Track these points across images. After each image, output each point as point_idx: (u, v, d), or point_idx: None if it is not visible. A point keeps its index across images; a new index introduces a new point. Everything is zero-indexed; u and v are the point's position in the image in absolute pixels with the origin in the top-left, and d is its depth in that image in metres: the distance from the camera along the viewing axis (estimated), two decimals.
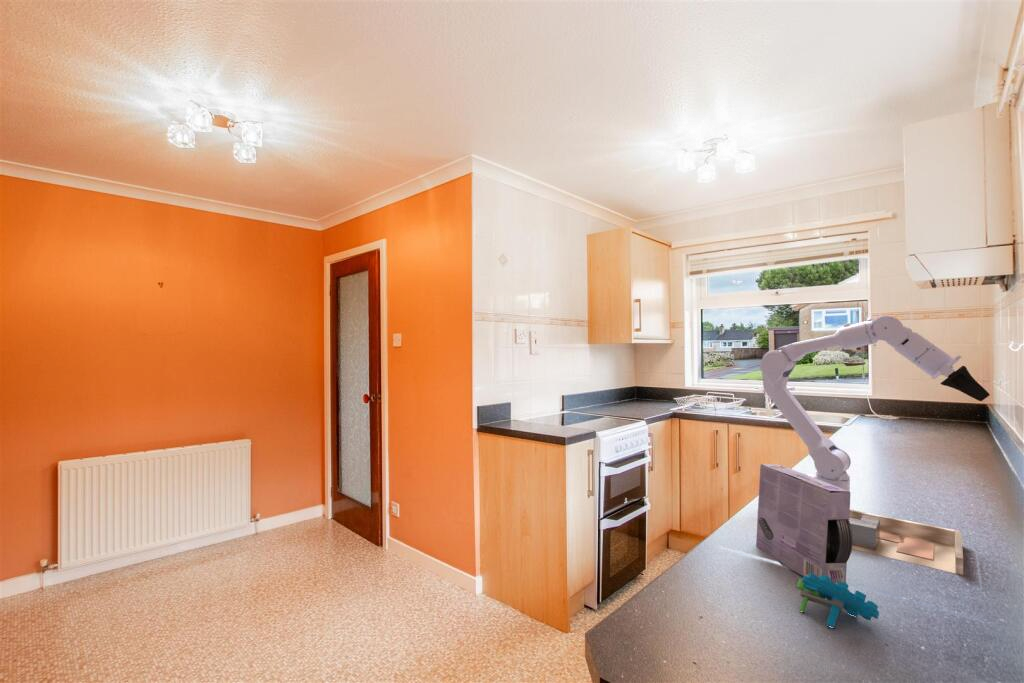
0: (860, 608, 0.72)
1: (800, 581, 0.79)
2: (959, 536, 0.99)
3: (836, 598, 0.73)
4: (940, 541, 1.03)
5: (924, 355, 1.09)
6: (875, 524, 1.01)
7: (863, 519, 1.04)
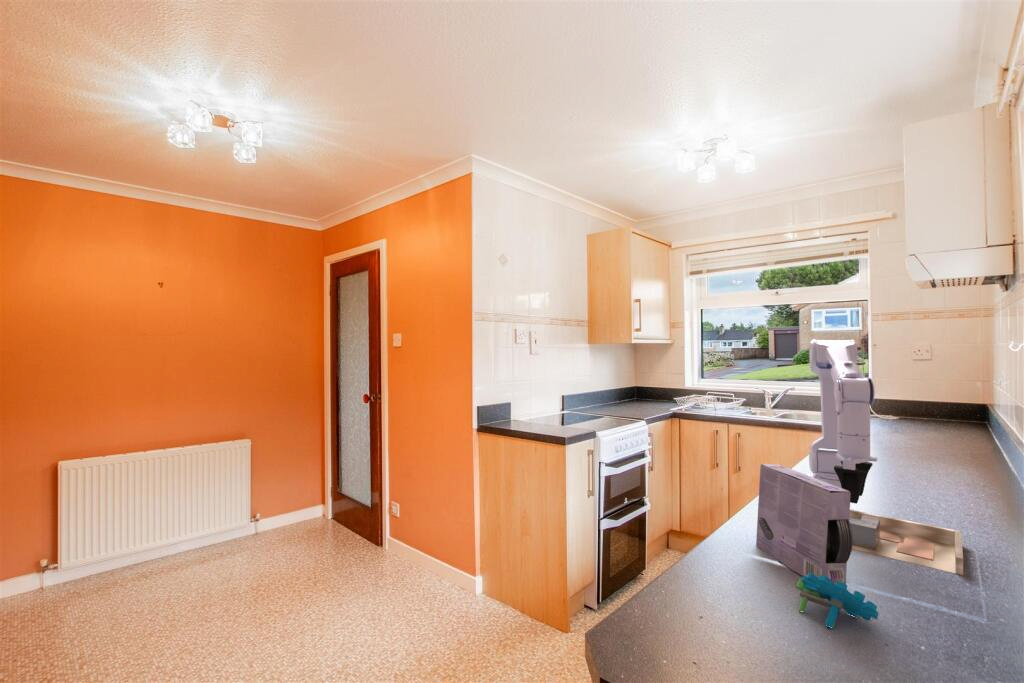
0: (859, 608, 0.72)
1: (800, 581, 0.79)
2: (959, 536, 0.99)
3: (835, 598, 0.73)
4: (940, 541, 1.03)
5: (851, 437, 1.01)
6: (875, 524, 1.01)
7: (863, 519, 1.04)
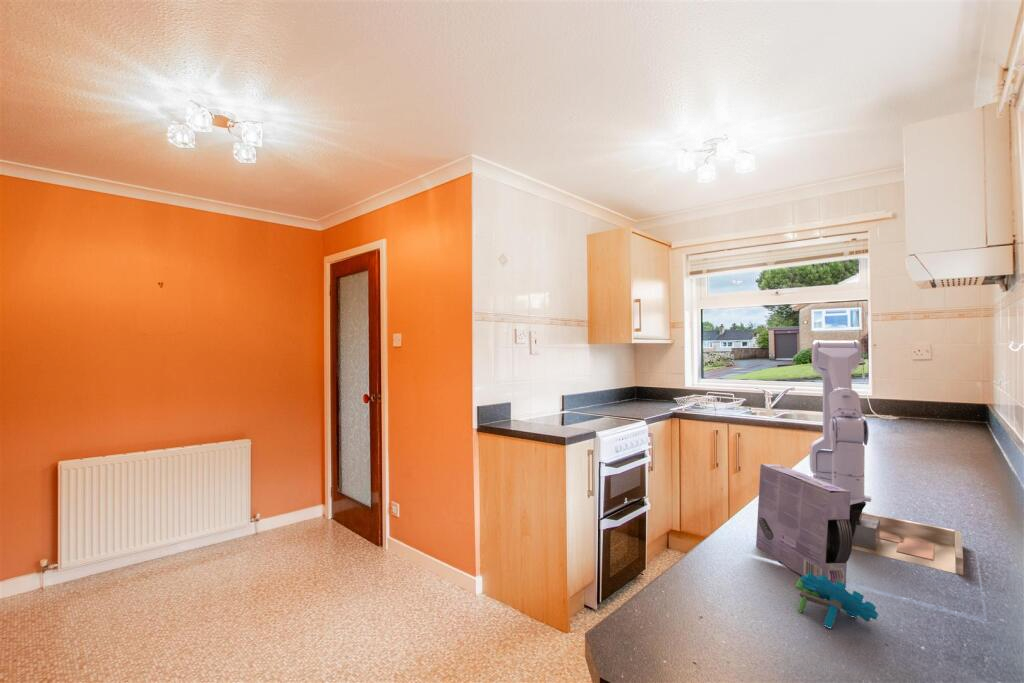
0: (858, 609, 0.72)
1: (799, 581, 0.79)
2: (959, 536, 0.99)
3: (834, 598, 0.73)
4: (940, 541, 1.03)
5: (845, 477, 1.01)
6: (875, 524, 1.01)
7: (863, 519, 1.04)
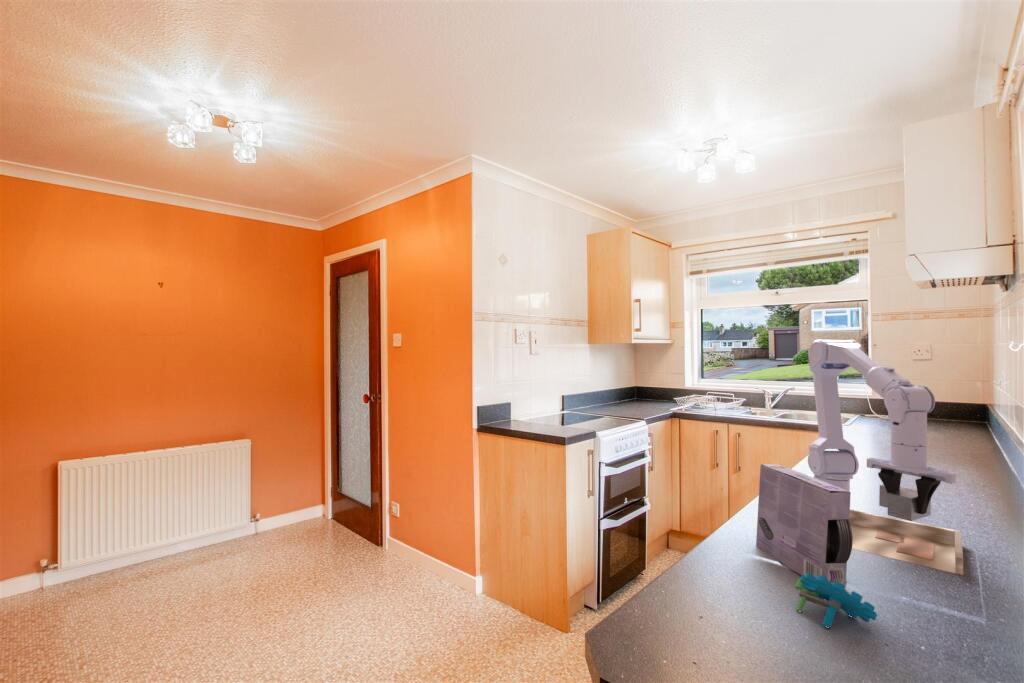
0: (857, 609, 0.72)
1: (799, 581, 0.79)
2: (959, 536, 0.99)
3: (833, 598, 0.73)
4: (940, 541, 1.03)
5: (925, 448, 0.98)
6: None
7: None
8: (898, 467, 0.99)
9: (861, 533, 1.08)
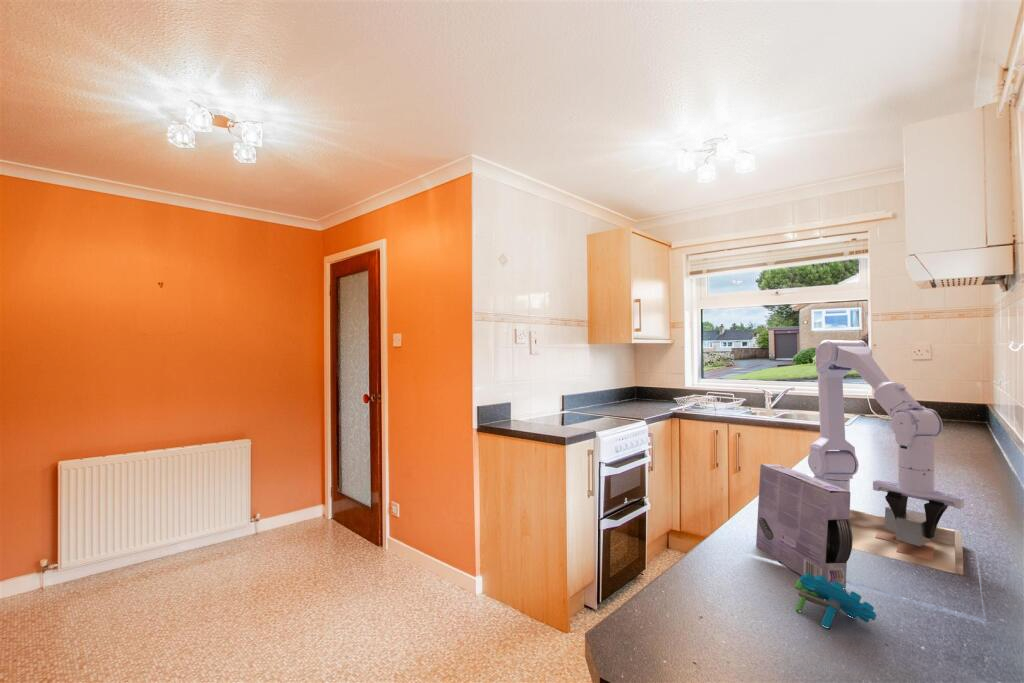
0: (857, 609, 0.72)
1: (799, 581, 0.79)
2: (959, 536, 0.99)
3: (832, 598, 0.73)
4: (940, 541, 1.03)
5: (933, 472, 0.97)
6: (918, 512, 1.03)
7: None
8: (906, 491, 0.99)
9: (861, 533, 1.08)
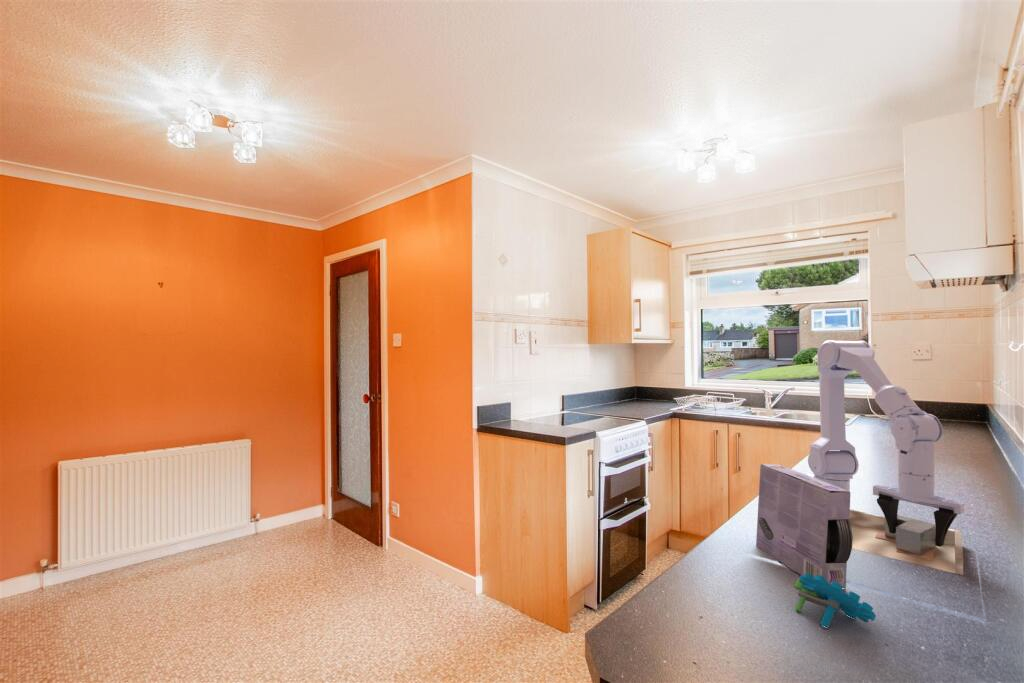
0: (856, 609, 0.72)
1: (798, 581, 0.79)
2: (959, 536, 0.99)
3: (832, 598, 0.73)
4: None
5: (933, 477, 0.97)
6: (918, 520, 1.03)
7: (903, 519, 1.03)
8: (906, 496, 0.99)
9: (861, 533, 1.08)
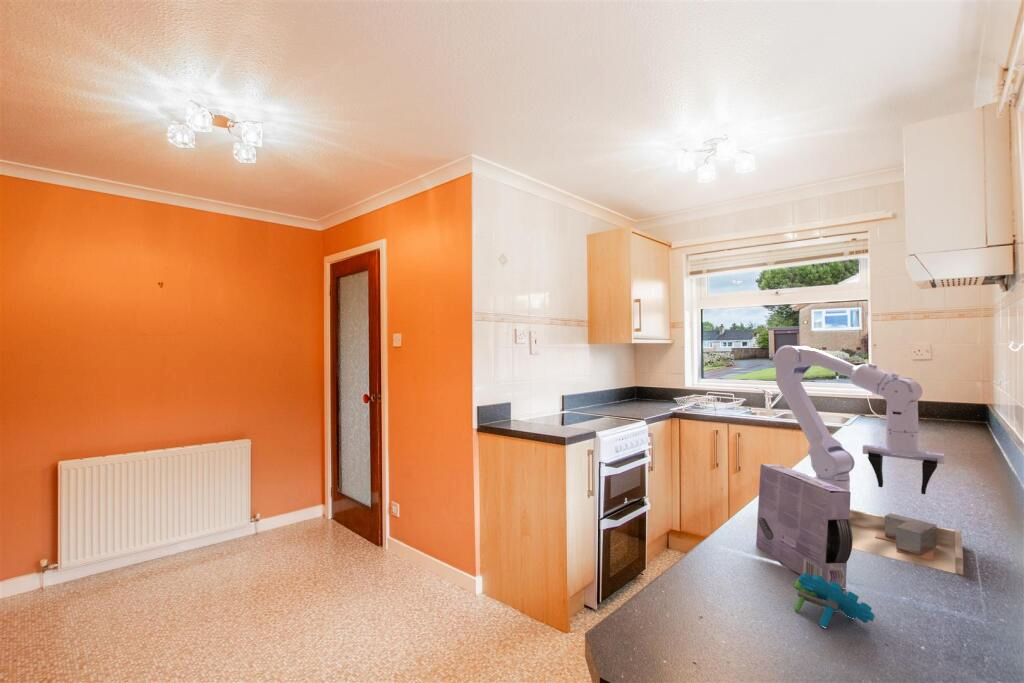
0: (855, 610, 0.71)
1: (798, 581, 0.79)
2: (959, 536, 0.99)
3: (831, 599, 0.73)
4: (940, 541, 1.03)
5: (917, 433, 1.09)
6: (918, 520, 1.03)
7: (903, 519, 1.03)
8: (897, 452, 1.10)
9: (861, 533, 1.08)
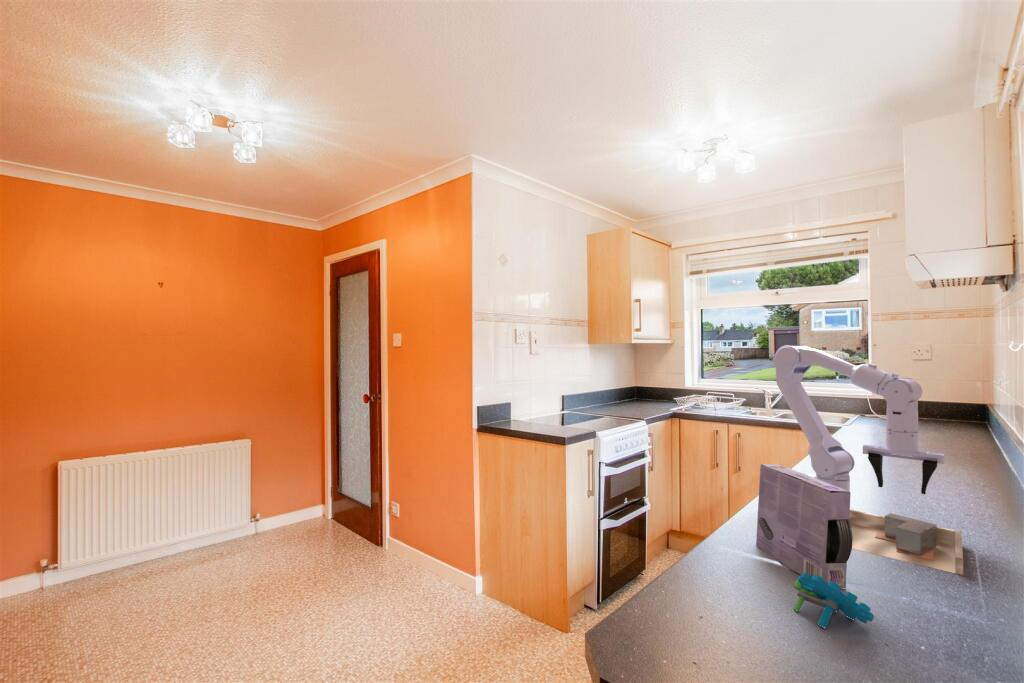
0: (854, 610, 0.71)
1: (797, 581, 0.79)
2: (959, 536, 0.99)
3: (830, 599, 0.73)
4: (940, 541, 1.03)
5: (917, 433, 1.09)
6: (918, 520, 1.03)
7: (903, 519, 1.03)
8: (897, 452, 1.10)
9: (861, 533, 1.08)
